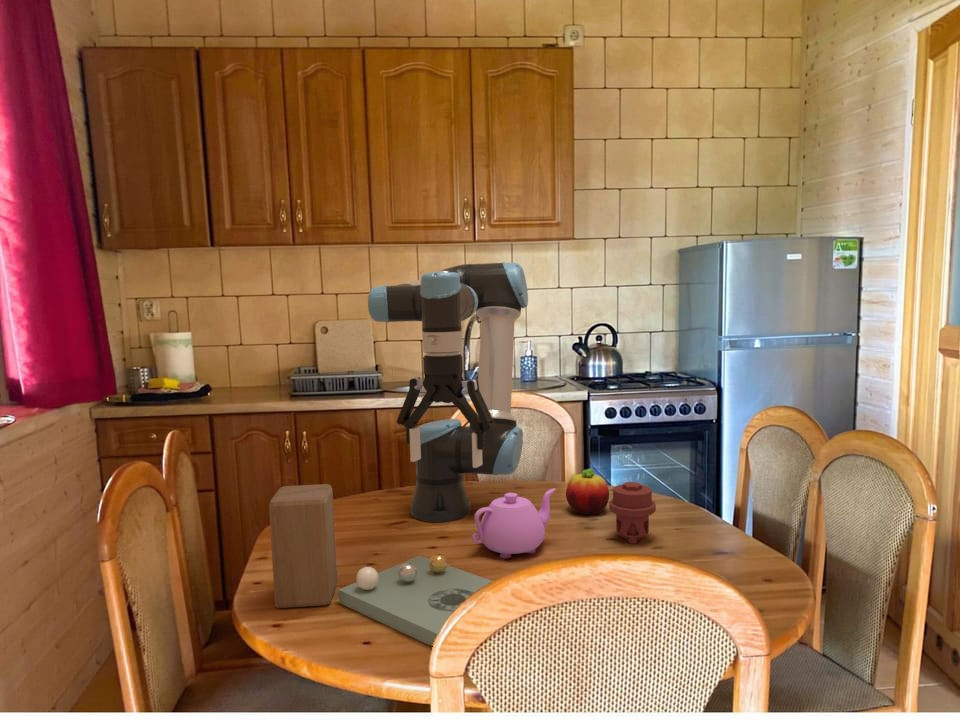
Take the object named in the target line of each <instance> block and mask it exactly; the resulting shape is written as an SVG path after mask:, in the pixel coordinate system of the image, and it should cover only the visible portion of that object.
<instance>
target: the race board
mask: <svg viewBox="0 0 960 720" xmlns="http://www.w3.org/2000/svg"><path fill="white" fill-rule="evenodd" d="M430 559H431V558H427V557H425V556H422V555H418V556H414V557H413V558H410V559H407V560H406V561H404V562H401V563H398V564H396V565H394V566H392V567H388V568H387V569H383V570H382V571H379V572H377V573H378V577H379V579H378V583H377V585H376V586H375V587H374V588H373V589H370V590H363V589H361V588H360V587H359V586H358V585H357V582H356V581H355V582H353V583H351V584H349V585H346V586H344V587H341V588H339V589H338V603H339V604H340V605H342V606H345V607H346V608H349V609H351V610H353V611H355V612H357V613H360V614H361V615H363V616H366V617H368V618H369V619H370V618H371V619H372V620H375V621H377V622H378V623H381V624H383V625H385V626H387V627H389V628H391V629H394V630H395V631H398V632H400V633H402V634H404V635H407V636H409V637H411V638H413V639H415V640H417V641H419V642H421V643H424V644H425V645H429V646H430V645H431V646H430V647H432V644H433V642H434V639H435V638H436V636H437V634H438V633H439V631H440V629H441V627H442V625H443V624H444V622H445V621H446V620H447V618H448V617H449V616H450V615H451V613H452V612H453V611H454V610H455V609H456V608H457V607H458V606H459V604H460V603H461V602H462V601H464V600H465V599H466V598H468V597H469V596H470V595H471V594H473V593H474V592H476V591H477V590H478V589H480V588H481V587H483V586H485V585H487V584H488V583H490V582H492V581H493V580H492V579H488V578H485V577H482V576H480V575H477V574H474V573H471V572H468V571H465V570H462V569H460V568H457V567H453V566H450V565H448V564H447V568H446V569H445V571H443V572H442V573H434V572H433V571H432V570H431V569H430V567H429V561H430ZM404 563H411V564H413V565H414V566H415V567H416V570H417V575H416V578H415V579H414V580H413V581H412V582H410V583H404V582H402V581H401V580H400V579H399V577H398V569H399V568H400V566H401V565H402V564H404Z"/></svg>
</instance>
